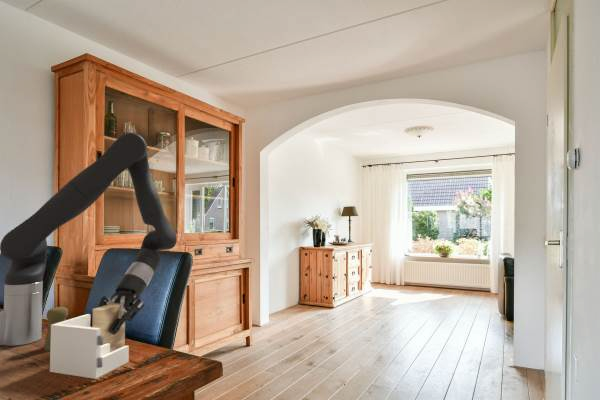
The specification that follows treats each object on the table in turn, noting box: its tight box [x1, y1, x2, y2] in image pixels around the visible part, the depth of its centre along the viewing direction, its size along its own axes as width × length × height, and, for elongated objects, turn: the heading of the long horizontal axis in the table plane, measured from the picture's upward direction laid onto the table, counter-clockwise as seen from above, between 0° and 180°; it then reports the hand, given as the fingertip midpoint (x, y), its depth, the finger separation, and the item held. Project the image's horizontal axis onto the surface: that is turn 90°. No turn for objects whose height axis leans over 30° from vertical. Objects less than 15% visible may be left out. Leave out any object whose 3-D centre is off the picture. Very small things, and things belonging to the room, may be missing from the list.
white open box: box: [49, 313, 130, 380], centre depth 92 cm, size 10×15×11 cm
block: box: [91, 303, 126, 352], centre depth 104 cm, size 8×4×12 cm, turn 163°
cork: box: [43, 306, 69, 352], centre depth 107 cm, size 6×6×11 cm
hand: (103, 332), depth 102 cm, fingers open, 5 cm apart
